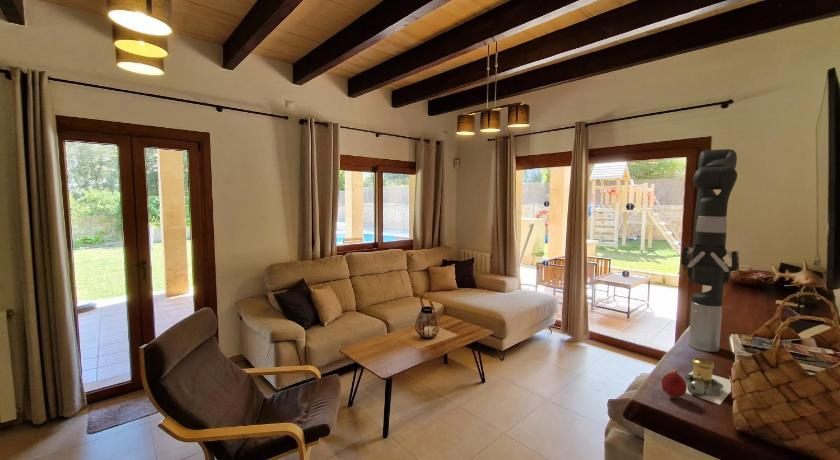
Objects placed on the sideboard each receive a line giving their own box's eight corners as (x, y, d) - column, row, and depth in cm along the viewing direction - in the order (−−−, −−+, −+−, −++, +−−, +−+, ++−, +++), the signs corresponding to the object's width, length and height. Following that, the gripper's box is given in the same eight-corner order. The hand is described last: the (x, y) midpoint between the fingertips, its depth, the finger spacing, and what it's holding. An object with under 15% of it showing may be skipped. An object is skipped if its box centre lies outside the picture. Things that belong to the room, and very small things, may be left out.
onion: (686, 405, 99) (688, 377, 98) (661, 399, 102) (662, 371, 101) (684, 396, 104) (686, 369, 103) (660, 390, 107) (662, 364, 106)
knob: (693, 381, 110) (695, 356, 109) (714, 388, 106) (716, 361, 106) (688, 387, 107) (690, 360, 106) (709, 394, 103) (711, 366, 102)
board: (694, 372, 119) (694, 369, 119) (738, 385, 110) (738, 382, 110) (672, 391, 106) (672, 387, 106) (719, 408, 98) (719, 404, 98)
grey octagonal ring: (689, 378, 112) (690, 367, 112) (725, 389, 106) (726, 377, 105) (676, 389, 105) (677, 377, 105) (714, 402, 99) (714, 389, 98)
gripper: (743, 231, 112) (739, 283, 113) (688, 228, 123) (685, 276, 125) (737, 232, 108) (733, 286, 109) (680, 229, 119) (677, 278, 120)
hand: (707, 281), depth 117 cm, fingers open, 8 cm apart
